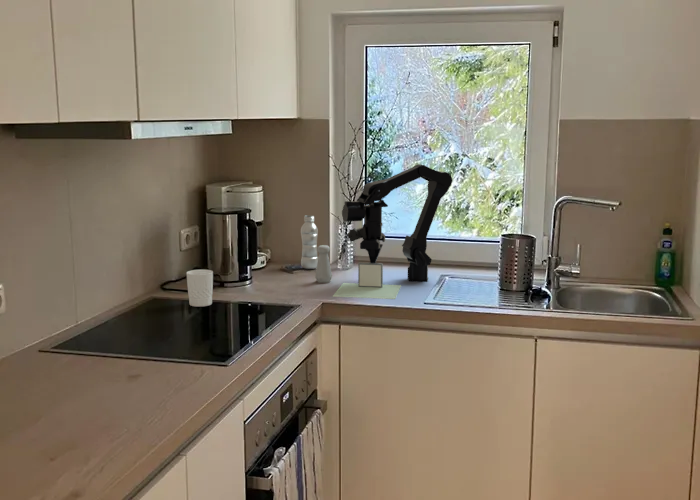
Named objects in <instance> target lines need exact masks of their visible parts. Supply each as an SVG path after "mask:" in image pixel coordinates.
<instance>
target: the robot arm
mask: <svg viewBox="0 0 700 500" xmlns="http://www.w3.org/2000/svg"><path fill="white" fill-rule="evenodd" d="M420 178H421V179H423V180H425V181H427V196H426V198H425V202H424V204H423V207H422V209H421V213H420V215H419V217H418V219H417V220H418V221H417V222H416V225H415V228H414V230H413V232H412V234H411V235H406V236H405V238H404V242H403V243H402V244H401V247H402V254H403V255H404V256H405V258H406V259H407V260H406V261H407V262H408V263H409V265H408V267H407V280H408V282H413V283H415V282H419V283H420V282H421V283H427V282H429V281H428V280H429V266H430V265H431V263H432V261H433V259H432V258H431V257H430V256H429V255H428V253H426V251H427V246H428V244H427V243H428V242H427V240H428V239H427V237H428V234H429V231H430V228H431V226H432V223H433V221H434V218H435V215H436V213H437V210H438V207H439V205H440V202H441V199H442V198H443V197H444V196H445V195H446V194H447V193H448V191H449V190H450V187H451V186H452V184H453V178H452V175H451V174H450V173H449V172H446V171H441V170H436V169H434V168H431V167H428V166H427V165H425V164H419V163H418V164H415V165H414V166H412V167H410V168H408V169H405V170H403V171H401V172H399V173H397V174H394V175H392V176H390V177H388V178H384V179H380V180H375V181H371V182H367V183H366V184H364V186H363V188H362V192H361V194H359V196H358V198H357V199H356V200H355V201H354V200H353V201H349V200H344V205H343V206H342V210H341V216H342V219H343V222H344V223H345V222H347V223H348V222H361V221H363V220H364V223H363V225H362V227H359V228H357V229H356V228H353V229H350V230H349V232H347V238H348V239H349V241H350V243H352V242H355V241H357V240H360V239H362V240H361V241H360V243H359V247H360V248H359V249H360V250H365V251H366V252H367V255H368V257H369V263H377V261H378V258H379V255H380V253H381V251H382V248H383V246H384V244H382V243H384V242H385V241H386V235H385V234H384V233H383V232H382V227H383V222H382V219H383V218H382V216H383V215H382V213H383V208H387V207H388V206H389V205H388V204H387V203H386V202H385V200H384V198H385V197H387V196H388V195H389V194H390V193H391V192H392V191H394V190H396V189H398V188H401V187H403V186H404V185H407V184H409V183H411V182H414V181H415V180H418V179H420ZM381 241H382V243H381Z"/></svg>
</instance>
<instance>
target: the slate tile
mask: <svg viewBox="0 0 700 500" xmlns="http://www.w3.org/2000/svg"><path fill="white" fill-rule="evenodd" d="M357 267H358V271H357V272H358V274H357V275H358V276H357V278H358V282H357V284H358V287H378V288H382V287H383V285H384V283H383V282H384V264H383V263H382V262H376V263H370V262H360V261H359V262H358V266H357Z"/></svg>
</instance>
